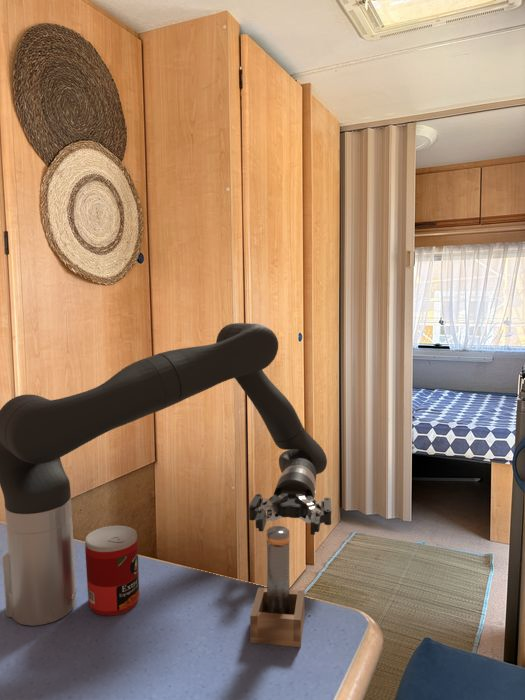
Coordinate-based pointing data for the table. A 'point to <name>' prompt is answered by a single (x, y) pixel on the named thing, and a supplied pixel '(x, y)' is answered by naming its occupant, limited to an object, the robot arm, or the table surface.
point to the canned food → (112, 569)
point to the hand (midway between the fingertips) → (286, 527)
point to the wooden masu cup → (278, 621)
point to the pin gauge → (278, 570)
